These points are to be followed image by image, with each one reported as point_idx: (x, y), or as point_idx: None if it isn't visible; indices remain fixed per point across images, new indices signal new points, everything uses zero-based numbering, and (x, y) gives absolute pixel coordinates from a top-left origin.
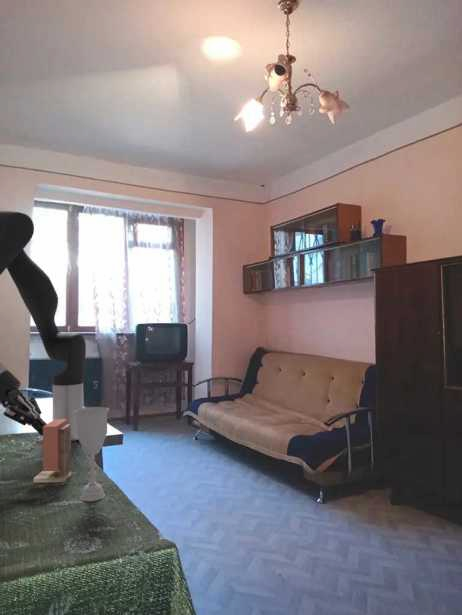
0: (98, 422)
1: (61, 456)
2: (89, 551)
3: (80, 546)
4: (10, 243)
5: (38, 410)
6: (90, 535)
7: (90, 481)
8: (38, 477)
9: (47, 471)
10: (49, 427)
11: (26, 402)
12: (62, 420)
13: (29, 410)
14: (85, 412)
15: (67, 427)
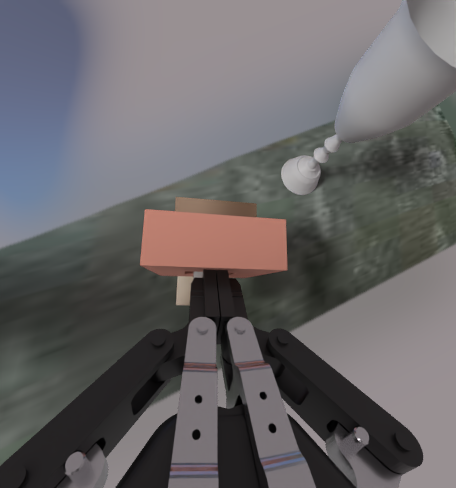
0: (448, 38)
1: None
2: (443, 156)
3: (435, 167)
4: None
5: (156, 350)
6: (412, 160)
7: (316, 165)
8: None
9: (179, 290)
10: (285, 244)
11: (216, 442)
12: (174, 224)
13: (267, 365)
14: (415, 56)
15: (216, 201)
